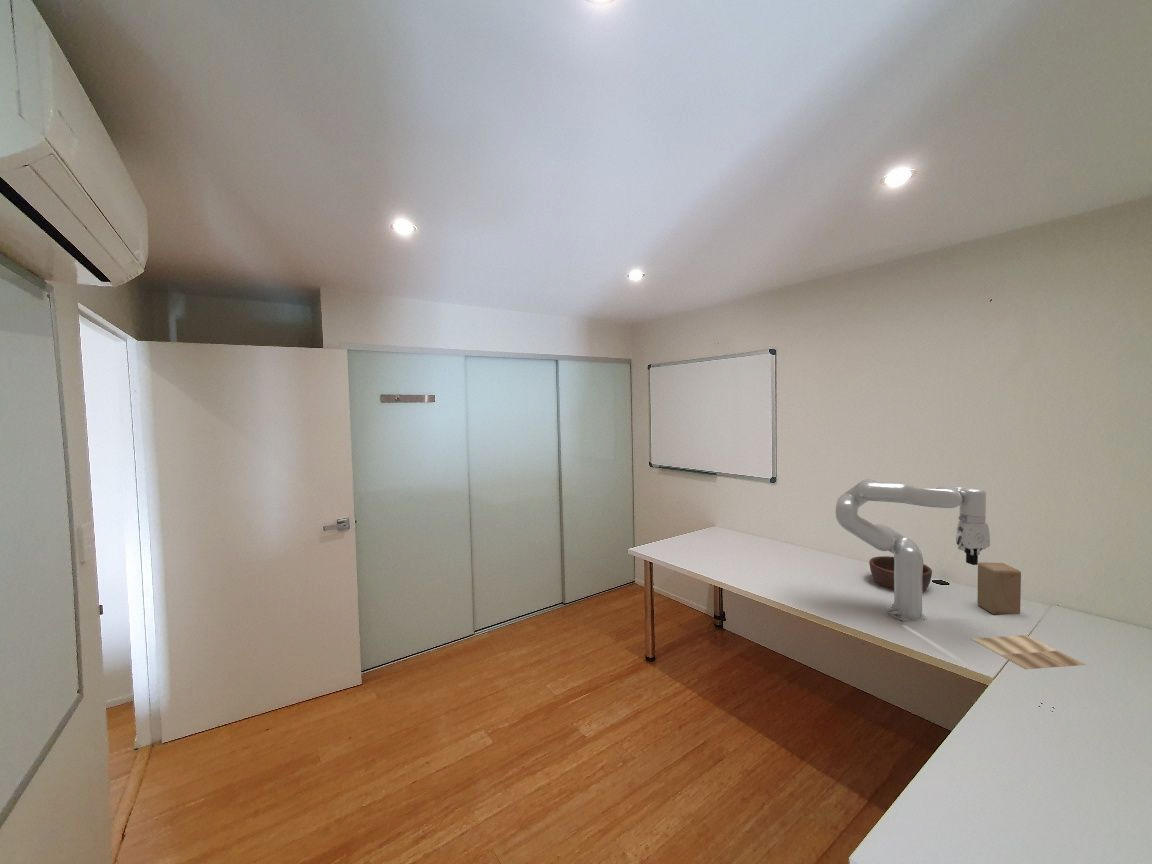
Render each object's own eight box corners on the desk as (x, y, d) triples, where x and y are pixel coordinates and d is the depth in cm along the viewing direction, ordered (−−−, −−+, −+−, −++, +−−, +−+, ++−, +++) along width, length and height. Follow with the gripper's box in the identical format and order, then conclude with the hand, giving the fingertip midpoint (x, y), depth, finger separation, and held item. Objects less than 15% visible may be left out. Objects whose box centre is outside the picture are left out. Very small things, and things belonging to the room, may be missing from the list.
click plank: (999, 658, 148) (999, 654, 148) (971, 642, 158) (971, 638, 158) (1056, 654, 149) (1057, 650, 149) (1025, 638, 159) (1025, 635, 159)
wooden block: (1021, 617, 175) (1022, 571, 173) (993, 615, 177) (994, 570, 175) (1002, 606, 184) (1003, 562, 183) (976, 604, 186) (976, 561, 185)
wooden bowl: (913, 575, 219) (913, 556, 218) (944, 597, 195) (944, 576, 194) (860, 573, 225) (860, 555, 224) (883, 594, 200) (883, 573, 200)
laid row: (1025, 673, 140) (1025, 668, 140) (999, 658, 148) (1000, 654, 148) (1086, 668, 141) (1086, 664, 141) (1058, 654, 149) (1058, 650, 149)
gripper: (963, 522, 161) (963, 568, 162) (1000, 520, 161) (999, 566, 162) (945, 517, 168) (945, 561, 169) (980, 515, 169) (979, 559, 170)
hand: (971, 563), depth 166 cm, fingers closed
